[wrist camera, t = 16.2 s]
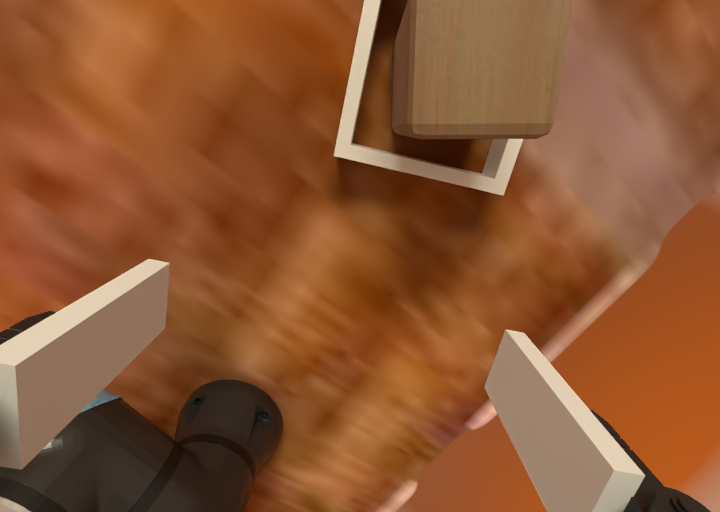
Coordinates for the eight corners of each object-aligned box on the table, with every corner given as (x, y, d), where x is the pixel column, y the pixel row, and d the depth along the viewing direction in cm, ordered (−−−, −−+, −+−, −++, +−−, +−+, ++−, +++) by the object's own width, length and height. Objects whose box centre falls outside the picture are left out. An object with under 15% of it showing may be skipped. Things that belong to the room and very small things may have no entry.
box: (337, 153, 45) (333, 155, 40) (374, -33, 39) (375, -55, 34) (489, 188, 46) (503, 195, 41) (548, 13, 40) (572, -2, 35)
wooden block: (390, 134, 44) (407, 139, 25) (392, 38, 41) (414, -38, 22) (476, 134, 44) (557, 139, 25) (485, 37, 41) (585, -40, 22)
